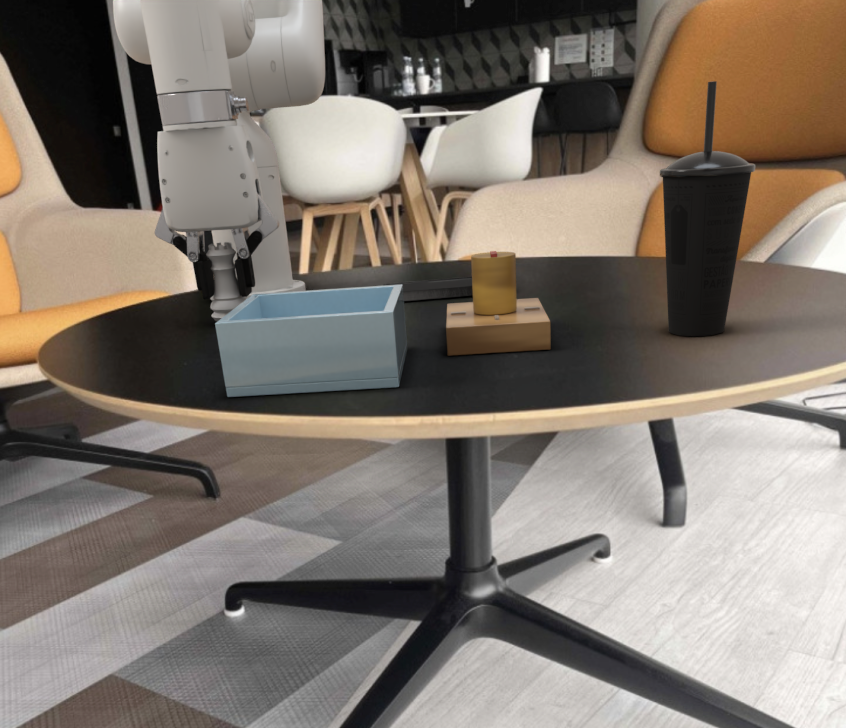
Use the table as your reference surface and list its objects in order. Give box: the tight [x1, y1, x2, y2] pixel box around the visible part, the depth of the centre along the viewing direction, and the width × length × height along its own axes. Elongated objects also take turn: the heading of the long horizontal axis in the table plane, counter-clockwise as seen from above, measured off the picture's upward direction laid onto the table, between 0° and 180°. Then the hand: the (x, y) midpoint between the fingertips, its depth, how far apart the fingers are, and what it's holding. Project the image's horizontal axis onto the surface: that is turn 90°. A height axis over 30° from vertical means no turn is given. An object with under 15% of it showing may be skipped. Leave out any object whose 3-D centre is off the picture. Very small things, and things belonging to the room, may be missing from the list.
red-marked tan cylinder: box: [470, 250, 518, 315], centre depth 79 cm, size 4×4×5 cm
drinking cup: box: [659, 80, 756, 337], centre depth 75 cm, size 8×8×20 cm
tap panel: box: [445, 297, 552, 357], centre depth 81 cm, size 12×9×3 cm
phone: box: [382, 276, 473, 302], centre depth 107 cm, size 8×1×15 cm
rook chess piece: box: [206, 242, 246, 322], centre depth 97 cm, size 4×4×8 cm
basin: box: [214, 284, 408, 398], centre depth 73 cm, size 14×14×6 cm
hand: (227, 294), depth 97 cm, fingers closed on rook chess piece, 3 cm apart
